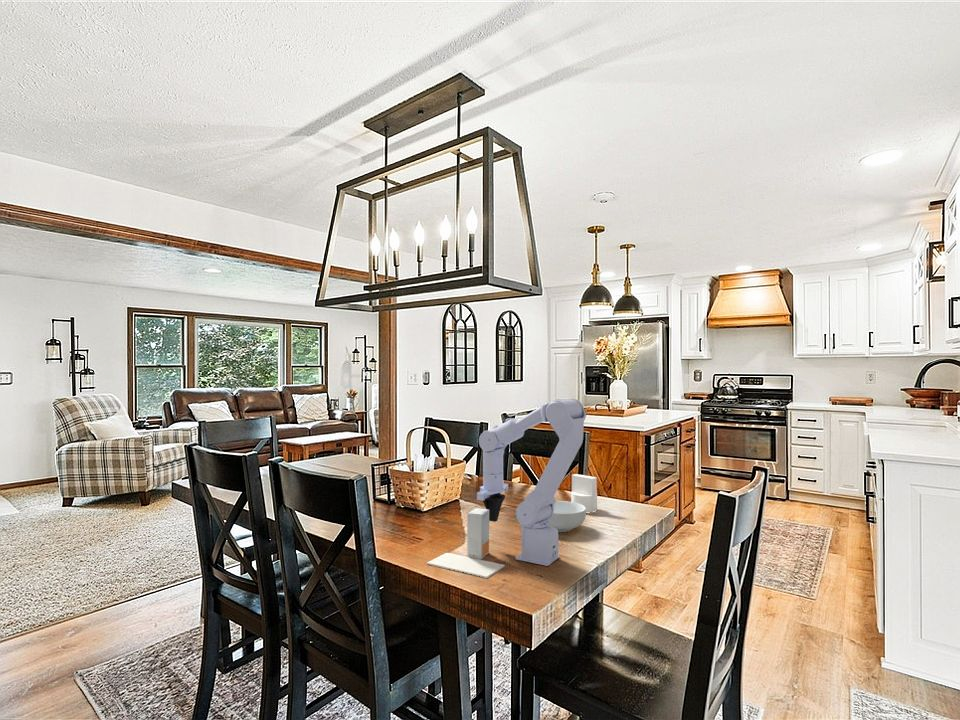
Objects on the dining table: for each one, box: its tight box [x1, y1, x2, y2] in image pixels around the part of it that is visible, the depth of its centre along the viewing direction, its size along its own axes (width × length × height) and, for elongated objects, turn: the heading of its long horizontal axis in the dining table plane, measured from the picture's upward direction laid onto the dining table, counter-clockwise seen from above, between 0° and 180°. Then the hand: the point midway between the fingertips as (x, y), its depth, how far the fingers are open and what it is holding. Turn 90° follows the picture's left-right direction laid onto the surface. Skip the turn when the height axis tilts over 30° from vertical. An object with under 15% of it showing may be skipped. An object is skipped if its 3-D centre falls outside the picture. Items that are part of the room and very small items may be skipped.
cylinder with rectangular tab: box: [570, 473, 598, 512], centre depth 193 cm, size 9×9×12 cm
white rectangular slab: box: [426, 552, 506, 579], centre depth 140 cm, size 18×9×1 cm, turn 59°
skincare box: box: [466, 507, 490, 560], centre depth 147 cm, size 6×4×12 cm
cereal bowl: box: [549, 500, 587, 533], centre depth 172 cm, size 17×17×7 cm
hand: (493, 520), depth 154 cm, fingers closed
